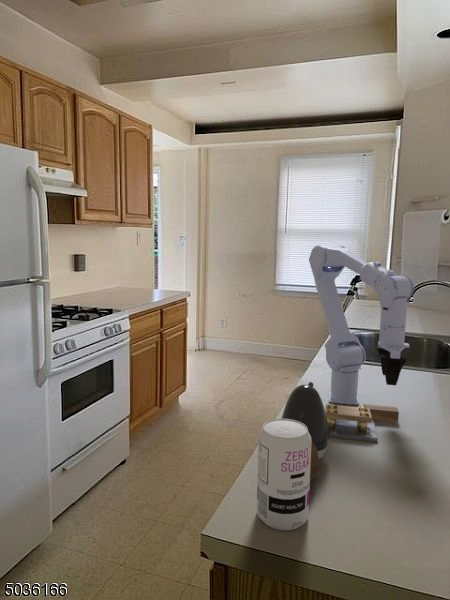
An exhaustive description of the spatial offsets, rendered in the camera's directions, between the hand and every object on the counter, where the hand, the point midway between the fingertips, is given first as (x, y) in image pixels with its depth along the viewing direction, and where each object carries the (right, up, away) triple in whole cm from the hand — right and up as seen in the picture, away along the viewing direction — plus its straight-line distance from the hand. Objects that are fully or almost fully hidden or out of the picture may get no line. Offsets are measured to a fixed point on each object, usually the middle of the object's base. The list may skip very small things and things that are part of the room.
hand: (389, 379), depth 107 cm
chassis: (-12, -11, -5) cm, 17 cm away
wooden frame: (-12, -8, -5) cm, 15 cm away
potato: (-28, -14, -27) cm, 41 cm away
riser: (-2, -10, +2) cm, 11 cm away
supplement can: (-31, -15, -37) cm, 51 cm away
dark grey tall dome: (-24, -13, -18) cm, 33 cm away
